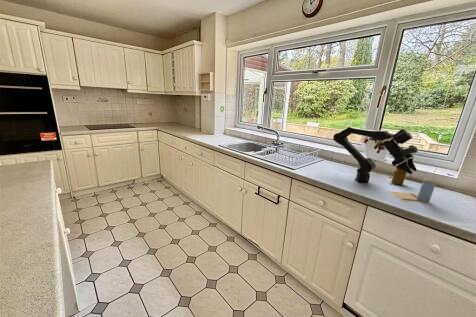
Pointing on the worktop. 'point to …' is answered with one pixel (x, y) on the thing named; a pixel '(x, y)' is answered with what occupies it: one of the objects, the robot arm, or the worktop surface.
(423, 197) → the canister
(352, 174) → the worktop surface
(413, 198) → the card
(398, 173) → the condiment
